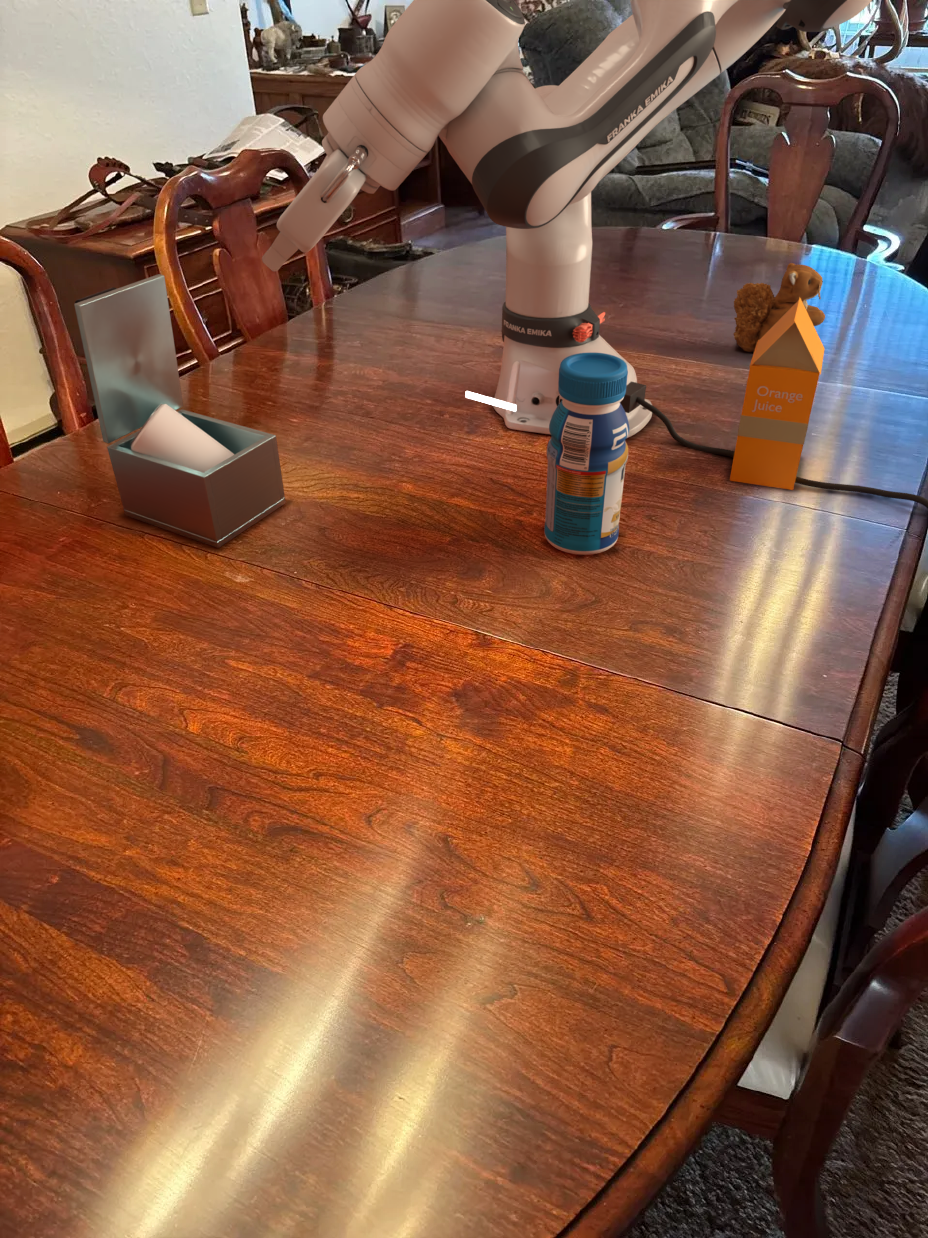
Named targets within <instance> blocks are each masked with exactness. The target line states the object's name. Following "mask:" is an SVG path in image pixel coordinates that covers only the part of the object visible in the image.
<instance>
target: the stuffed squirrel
mask: <svg viewBox="0 0 928 1238" xmlns="http://www.w3.org/2000/svg"><path fill="white" fill-rule="evenodd" d="M786 266H787V267H786V271H784V274H783V276H782V279H781V283H780V288H779V289H778V292H777V294H776V295H775V294H774V292H773V290H772V288H771V285H770V284H767V283H764V282H760V283H758V282H756V283H753V282H749V283H748V282H747V283H744V284H743V286H742V288H740V289H737V290H736V295H737V296H736V297H735V298H734V301H733V308H734V312H735V313H736V317H734V321H735V328H734V332H733V338H734V340H735V341H736V345H738V347H739V348H741V349H742V350H743V351H744V352H748V353H749V352H750V353H752V352H753V353H754V350H755V347H756V344H757V342H758V340H760V339H761V338H762V337H763V336H764V335H765V334H766V333H767V332H768V331H769V330H770V329H771V328H772V327H773V326H774V325H775V324H776V323H777V322H778V321H779V320H780V319H781V317H782V316H783V315H784V314H785V313H786V312H787V311H788V310H789V309H790V308H791V307H792V306H793V305H794V304H795V303H796V302H797V301H798V300H799V298H801V300H802V302H803V305H804V307H805V309H806V311H807V313H808V315H809V317H810V319H811V321H812V323H813V325H814V327H818V326H819V325H821V324H823V322H824V321H825V319H826V314H825V313H824V311H823V310H821V309H820V308H819V307H818V306H813V305H810V304H809V303H808V301H809V300H811V299H813V298H815V297H818V300H821V299H822V297H821V290H822V286H823V277H822V274H820V273H819V272H818V271H816V270H815V269H814V268H813V267H811V266H809V265H807V264H796V263H793V262H790V263H788V265H786Z"/></svg>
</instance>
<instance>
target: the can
mask: <svg viewBox="0 0 928 1238" xmlns="http://www.w3.org/2000/svg"><path fill="white" fill-rule="evenodd" d="M138 431H139V432H138ZM138 431H137V432H138V433H137V435H136V436H135V438H134V439H133V441H132V442H131V444H130V446H131V450H132V451H135V452H139V453H142V454H145V455H148V456H152V457H155V458H158V459H161V460H164V461H168V462H171V463H174V464H177V465H181V466H184V467H187V468H190V469H193V470H197V471H200V472H203V473H204V472H205V471H207V470H209V469H211V468H212V467H214V466H216V465H218V464H219V463H221V462H223V461H224V460H226V459H228V458H230V457H231V456H233V455H235V454H233V453H232V452H231V451H229V450H228V449H227V448H225V447H224V446H223V445H221V444H220V443H219V442H217V441H216V440H215V439H213V438H212V437H211V436H209V435H208V434H207V433H205V432H204V431H202V430H201V429H200V428H198V427H197V426H196V425H194V424H193V423H192V422H190V421H189V420H188V419H186V418H185V417H184V416H182V415H181V414H179V413H178V411H177V410H174V409H173V408H171V407H170V406H168V405H167V404H163V405H162V404H160V405H159V406H158V407H157V408H156V410H155V411H154V412H153V413H152V415H151V416H150V417H149V418H148V420H147V421H146V422H145V424H144V425H143V426H142V427H141V428H139V430H138Z"/></svg>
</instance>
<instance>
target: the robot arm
mask: <svg viewBox="0 0 928 1238" xmlns="http://www.w3.org/2000/svg"><path fill="white" fill-rule="evenodd" d="M872 1H873V0H629V2H630V8H631V12H632V14H631V15H630V16H629V17H627V18H626V19H625V20H624V21H623V22H621V24H619V25H618V26H617V27H616V28H614V29H613V30H611V32H610V33H609V34H607V36H606V37H605V39H604V40H603V41H602V42H601V43H600V44H599V45H598V46H596V48H595V49H594V51H592V52H591V54H590V55H589V56H588V57H587V58H585V59H584V61H582V62H581V63H580V65H579V66H578V67H576V69H574V71H572V73H570V74H569V75H568V76H567V77H566V78H565V79H563V81H562V82H561V83H560V84H559V85H556V84H549V85H542V86H538V87H534V86H533V84H532V83H531V82H530V79H529V77H528V75H526V73H525V72H524V71H523V69H524V66H523V63H522V59H521V56H520V51H519V50H520V49H519V38H520V37H521V35H522V33H523V31H524V29H525V25H526V22H525V21H526V20H525V16H524V15H523V12H522V10H521V8H520V6H519V5H518V3H517V2H516V0H412V1H411V3H410V4H409V5H408V6H407V7H406V9H404V11H403V12H402V13H401V15H400V16H399V17H398V19H397V20H396V21H395V23H394V24H393V25H392V26H391V27H390V29H389V30H388V31H387V34H386V35H385V38H384V41H383V43H382V45H381V47H380V48H379V51H378V52H377V54H376V55H375V56H374V57H373V58H372V59H371V60H370V61H369V62H367V63H366V64H364V65H363V66H361V67H360V68H359V69H358V70H357V71H356V72H355V74H353V76H352V77H351V79H350V80H349V81H348V82H347V84H346V85H345V86H344V88H343V89H342V90H341V91H340V93H339V94H338V95H337V96H336V98H335V99H334V100H333V101H332V103H331V104H330V105H329V106H328V108H327V110H326V111H325V112H324V113H323V115H322V121H323V125H324V127H325V129H326V130H327V134H326V135H325V136H324V138H323V139H322V141H321V145H322V148H323V150H324V153H325V154H326V156H325V158H324V159H323V161H322V163H321V164H320V166H319V168H318V169H317V170H316V172H314V174H313V175H312V177H310V179H309V181H308V182H307V183H306V184H305V185H304V186H303V188H302V189H301V190H300V192H299V193H298V194H297V195H296V197H295V198H294V199H293V200H292V202H290V204H289V205H288V206H287V208H286V209H285V210H284V211H283V213H281V214H280V216H279V218H278V219H277V222H276V228H277V230H278V231H279V233H278V234H277V236H276V237H275V239H274V241H273V243H272V244H271V245H270V247H269V248H268V249H267V250H266V251H265V253H263V255H262V257H261V262H262V263H263V264H264V265H265V266H266V267H267V268H268V269H269V270H271V271H272V272H278V271H279V270H280V269H281V268H282V267H283V265H284V264H285V263H286V262H287V261H288V260H289V259H290V258H291V257H292V256H293V255H294V254H295V253H296V252H297V251H300V252H302V253H305V254H306V253H309V252H310V251H311V250H313V248H314V247H315V246H317V244H318V243H319V242H320V240H321V239H322V238H323V237H324V236H325V234H326V233H327V232H329V230H330V229H331V228H332V226H333V225H334V224H335V222H336V221H337V220H338V219H339V218H340V217H341V215H343V213H344V212H345V210H346V209H347V208H348V207H349V206H350V204H351V203H352V202H353V200H354V199H355V198H356V197H357V195H358V193H359V192H360V190H361V191H363V192H365V193H367V194H371V195H373V194H375V193H376V192H377V190H378V189H379V188H380V187H382V188H383V189H386V190H387V191H396V190H397V189H398V188H399V187H400V185H402V183H404V181H405V180H406V179H407V177H408V176H410V174H411V173H412V171H413V170H414V169H415V168H416V167H417V166H418V165H419V164H420V163H421V161H422V160H423V159H424V158H425V156H426V155H428V153H429V152H430V151H431V150H432V148H433V147H434V145H435V142H436V140H437V139H438V137H439V139H440V140H441V141H442V143H443V145H444V146H445V147H446V149H447V151H448V153H449V155H450V156H451V158H452V159H453V160H454V162H455V163H456V164H457V166H458V167H459V169H460V170H461V171H462V173H463V174H464V176H465V178H467V180H468V181H469V183H470V184H471V186H472V189H473V191H474V193H475V195H476V197H477V198H478V200H479V202H480V203H481V205H482V207H483V209H484V210H485V212H486V214H487V215H488V217H489V219H490V220H491V221H492V222H493V223H494V224H496V225H499V226H501V227H505V238H506V239H505V244H506V245H505V247H506V248H505V256H506V258H505V259H506V261H505V301H504V302H503V304H502V309H501V314H502V315H501V340H502V343H503V347H502V356H501V357H502V358H501V366H500V372H499V376H498V382H497V386H496V390H495V393H494V397H491V396H486V395H483V394H479V393H476V392H472V391H469V390H466V391H465V398H466V399H469V400H473V401H477V402H479V403H480V402H481V403H484V404H487V405H491V406H492V408H493V409H494V411H495V412H496V413H497V414H498V415H499V416H500V417H502V418H503V420H504V425H505V427H506V428H508V429H510V430H515V431H516V430H517V431H523V432H528V433H529V432H530V433H538V434H545V435H551V434H550V431H549V424H550V420H551V418H552V415H553V413H554V411H555V410H556V408H557V406H558V405H559V404H560V402H561V401H562V399H561V397H560V395H559V391H558V381H559V368H560V364H561V362H562V360H563V359H565V358H566V357H568V356H571V355H574V354H579V353H604V354H609V355H613V356H616V357H618V358H620V359H622V360H623V361H624V362H625V363H626V364H627V370H628V376H627V386H626V393H625V396H624V398H623V400H622V401H621V402H620V403H621V405H622V407H623V409H624V411H625V413H626V415H627V418H628V422H629V435H628V437H627V438H626V439H628V438H631V437H632V436H634V435H636V434H638V433H639V432H640V431H641V430H642V429H643V428H645V427H646V425H647V424H649V422H650V421H651V419H652V417H653V414H654V416H656V417H657V418H658V419H659V420H661V422H662V423H663V424H664V426H665V427H666V429H667V431H668V433H669V435H670V436H671V437H672V439H673V440H674V441H675V442H677V443H679V444H680V445H682V446H684V447H685V448H690V449H691V450H696V451H700V452H704V453H708V454H712V455H719V456H725V457H730V458H734V453H735V450H731V449H726V448H720V447H719V448H718V447H712V446H705V445H701V444H696V443H693V442H691V441H689V440H686V439H685V438H684V437H682V436H681V435H680V434H678V433H677V432H676V430H675V428H674V426H673V424H672V422H671V421H670V419H669V418H668V417H667V415H665V414H664V413H663V412H662V411H661V410H660V409H658V408H657V407H655V406H654V405H653V403H652V402H651V400H650V399H648V398H646V390H647V384H643V383H639V382H638V377H637V374H636V370H635V368H634V367H633V365H631V363H629V362H628V360H626V359H625V358H624V357H623V356H622V355H620V353H618V351H617V350H616V349H615V348H614V347H613V346H611V345H610V343H608V342H607V341H606V340H605V338H603V336H601V335H600V329H601V328H600V327H601V324H602V323H604V322H605V319H606V318H605V315H606V312H605V311H603V312H602V313H600V314H597V313H596V312H595V311H594V309H593V308H592V306H591V304H590V302H589V301H590V286H591V272H592V271H591V270H592V258H593V257H592V256H593V255H592V254H593V233H592V232H593V231H592V230H593V229H592V228H593V227H592V191H593V190H595V188H596V187H597V185H598V184H599V182H601V181H602V179H603V178H604V177H606V175H608V174H609V173H610V172H611V171H612V170H613V169H615V167H616V166H617V165H618V164H619V163H620V162H622V161H623V160H624V159H625V158H626V157H627V156H628V154H630V153H631V152H632V151H633V149H634V148H636V146H638V145H639V143H640V142H641V141H642V140H643V139H644V138H645V137H646V136H647V135H648V134H649V133H650V132H651V131H652V130H653V129H654V128H655V127H656V126H657V125H658V124H660V123H661V122H662V121H663V120H665V118H666V117H668V116H669V115H670V114H671V113H673V112H674V111H675V110H676V109H678V108H679V107H680V106H681V105H683V104H684V103H686V102H687V101H688V100H689V99H691V98H692V97H693V96H694V95H695V94H697V93H698V92H700V90H703V88H704V87H706V86H707V85H708V84H710V83H711V82H712V81H713V80H714V79H716V78H717V77H719V76H720V74H722V73H723V72H725V71H726V70H727V69H729V68H730V67H731V66H732V65H733V64H734V63H736V61H738V60H739V59H740V58H741V57H742V56H743V55H744V54H746V52H748V51H749V50H750V49H751V48H752V47H753V46H754V45H755V44H756V43H757V42H758V41H759V40H760V39H761V38H762V37H763V36H764V35H765V34H766V33H767V32H768V31H769V30H770V29H771V27H773V25H774V24H776V22H777V24H776V27H777V28H778V29H780V30H782V31H783V30H788V29H790V28H795V29H796V30H798V31H801V32H803V33H818V32H819V33H821V32H826V31H829V30H830V29H832V28H834V27H837V26H839V25H842V24H843V23H847V22H848V21H850V20H852V19H853V18H854V17H856V16H857V15H858V14H860V13H861V12H862V11H863V10H864V9H865V8H867V7H868V6H869V5H870V3H871V2H872ZM795 484H798V485H802V486H805V487H810V488H816V489H823V490H829V491H830V490H831V491H839V492H840V491H843V492H851V493H852V492H854V493H861V494H867V495H873V496H878V497H881V498H882V497H884V498H887V499H888V498H889V499H897V500H905V501H911V502H914V503H917V504H920V505H922V506H923V507H925V508H926V509H928V499H927V498H926V497H923V496H921V495H918V494H914V493H909V492H901V491H892V490H886V489H881V488H876V487H870V486H863V485H855V484H846V483H834V482H825V481H817V480H812V479H807V478H805V477H799V476H797V475H796V480H795Z"/></svg>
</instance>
